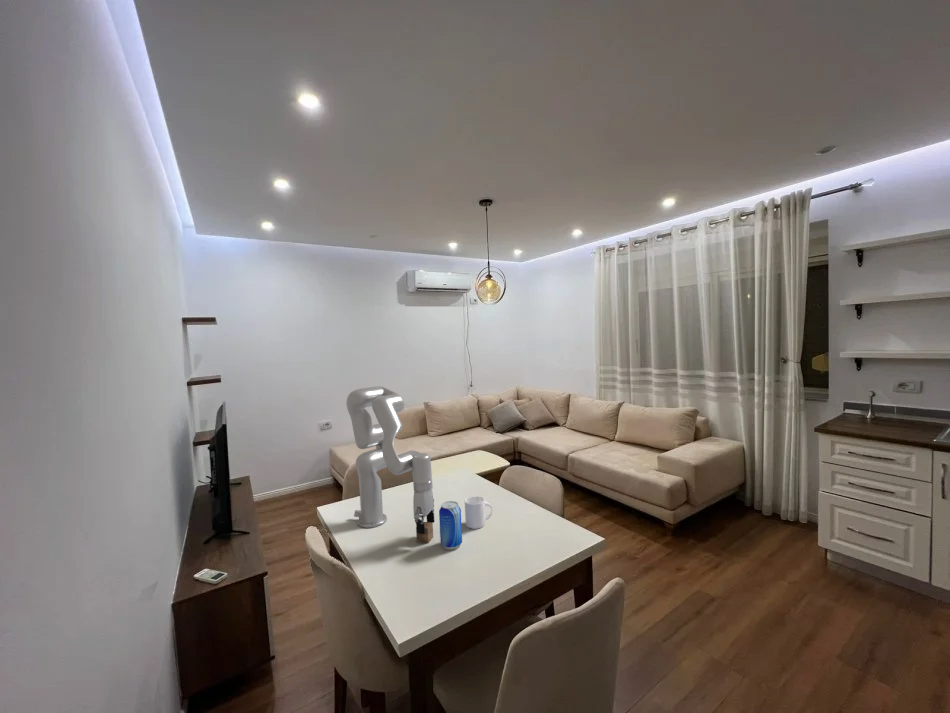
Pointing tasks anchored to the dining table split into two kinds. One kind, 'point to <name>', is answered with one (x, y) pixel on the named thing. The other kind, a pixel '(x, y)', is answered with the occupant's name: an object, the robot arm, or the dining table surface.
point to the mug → (476, 512)
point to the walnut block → (426, 533)
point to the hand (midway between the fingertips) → (425, 527)
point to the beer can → (450, 525)
